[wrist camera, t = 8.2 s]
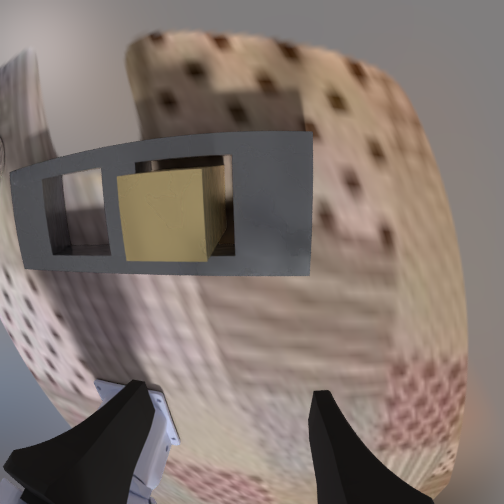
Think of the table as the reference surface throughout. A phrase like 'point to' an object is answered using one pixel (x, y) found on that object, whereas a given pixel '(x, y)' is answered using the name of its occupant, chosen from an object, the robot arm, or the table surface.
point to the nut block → (172, 213)
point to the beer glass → (1, 158)
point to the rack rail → (139, 160)
